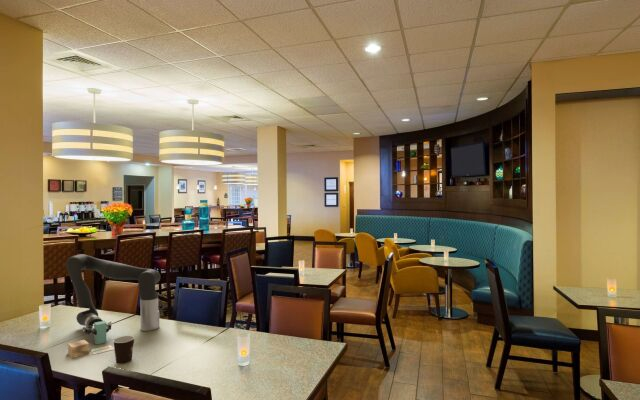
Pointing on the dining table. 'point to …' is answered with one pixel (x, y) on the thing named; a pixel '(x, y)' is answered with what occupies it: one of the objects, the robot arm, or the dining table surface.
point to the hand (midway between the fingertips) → (101, 331)
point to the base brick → (78, 348)
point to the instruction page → (102, 349)
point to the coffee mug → (123, 349)
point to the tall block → (100, 332)
